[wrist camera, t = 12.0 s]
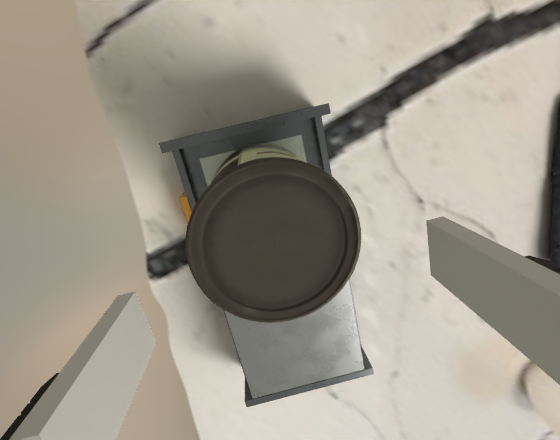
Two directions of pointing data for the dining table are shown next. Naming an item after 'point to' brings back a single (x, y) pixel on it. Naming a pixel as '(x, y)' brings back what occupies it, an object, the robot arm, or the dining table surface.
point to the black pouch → (556, 205)
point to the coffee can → (272, 236)
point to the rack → (299, 332)
